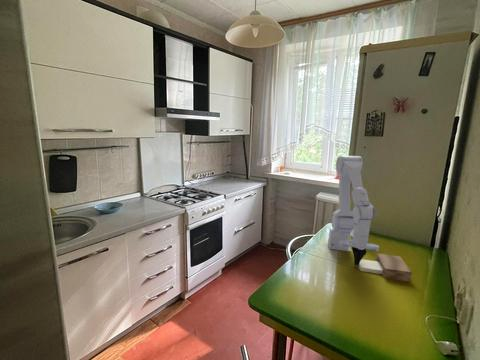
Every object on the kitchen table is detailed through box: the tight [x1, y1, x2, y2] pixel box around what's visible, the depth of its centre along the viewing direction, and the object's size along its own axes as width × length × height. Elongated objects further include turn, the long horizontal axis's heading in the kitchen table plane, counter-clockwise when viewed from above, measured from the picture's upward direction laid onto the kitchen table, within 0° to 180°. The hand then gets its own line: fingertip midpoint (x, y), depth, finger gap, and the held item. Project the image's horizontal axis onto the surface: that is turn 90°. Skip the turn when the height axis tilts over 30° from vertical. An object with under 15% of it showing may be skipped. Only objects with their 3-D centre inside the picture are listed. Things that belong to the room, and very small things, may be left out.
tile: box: [357, 258, 383, 275], centre depth 104 cm, size 12×7×2 cm, turn 76°
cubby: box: [375, 253, 413, 283], centre depth 102 cm, size 9×12×4 cm
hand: (356, 263), depth 105 cm, fingers closed
